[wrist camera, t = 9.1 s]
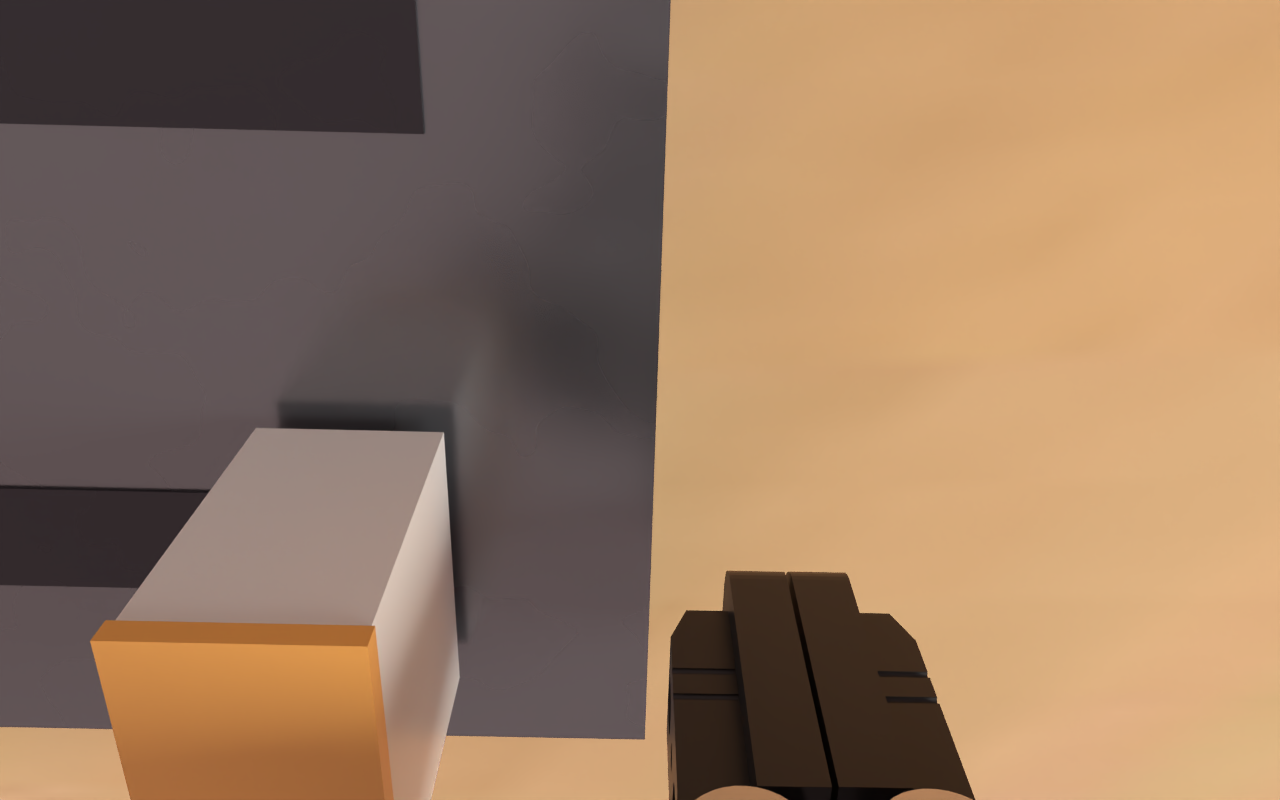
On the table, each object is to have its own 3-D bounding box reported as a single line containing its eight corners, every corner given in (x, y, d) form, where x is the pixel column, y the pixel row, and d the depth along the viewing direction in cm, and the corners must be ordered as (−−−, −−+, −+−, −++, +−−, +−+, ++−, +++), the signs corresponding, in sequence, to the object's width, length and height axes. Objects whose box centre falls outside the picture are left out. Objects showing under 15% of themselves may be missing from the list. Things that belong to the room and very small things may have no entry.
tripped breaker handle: (447, 428, 13) (367, 646, 9) (463, 680, 15) (401, 950, 11) (251, 424, 13) (89, 640, 9) (290, 676, 15) (167, 946, 11)
